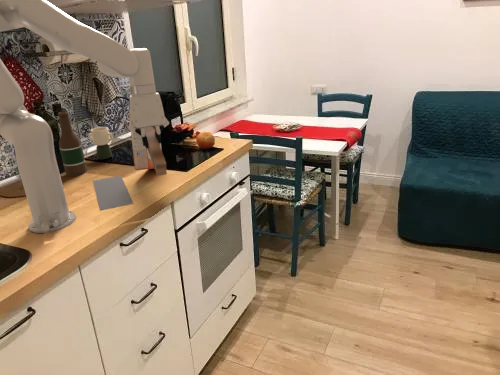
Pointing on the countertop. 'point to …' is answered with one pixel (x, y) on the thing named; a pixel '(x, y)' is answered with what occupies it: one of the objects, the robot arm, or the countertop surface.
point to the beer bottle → (70, 148)
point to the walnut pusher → (155, 152)
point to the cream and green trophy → (101, 141)
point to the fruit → (205, 140)
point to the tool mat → (111, 193)
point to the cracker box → (140, 152)
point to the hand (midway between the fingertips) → (152, 146)
